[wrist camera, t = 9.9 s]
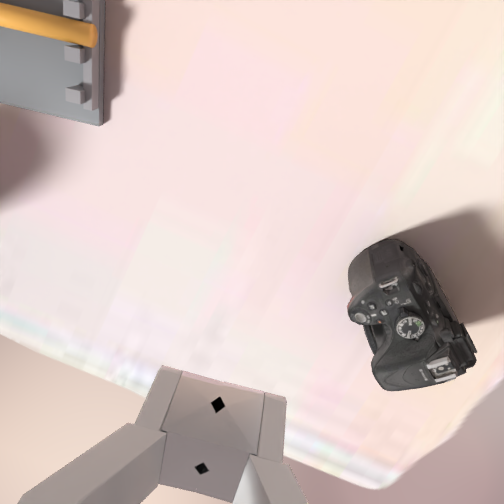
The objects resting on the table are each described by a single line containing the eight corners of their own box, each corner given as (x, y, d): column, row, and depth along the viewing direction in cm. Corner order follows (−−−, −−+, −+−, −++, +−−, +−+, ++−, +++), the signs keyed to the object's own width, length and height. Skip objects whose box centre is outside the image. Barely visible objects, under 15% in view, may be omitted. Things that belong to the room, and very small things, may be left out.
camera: (316, 292, 41) (318, 362, 32) (385, 220, 37) (408, 279, 28) (415, 356, 43) (441, 437, 35) (491, 297, 39) (543, 373, 30)
